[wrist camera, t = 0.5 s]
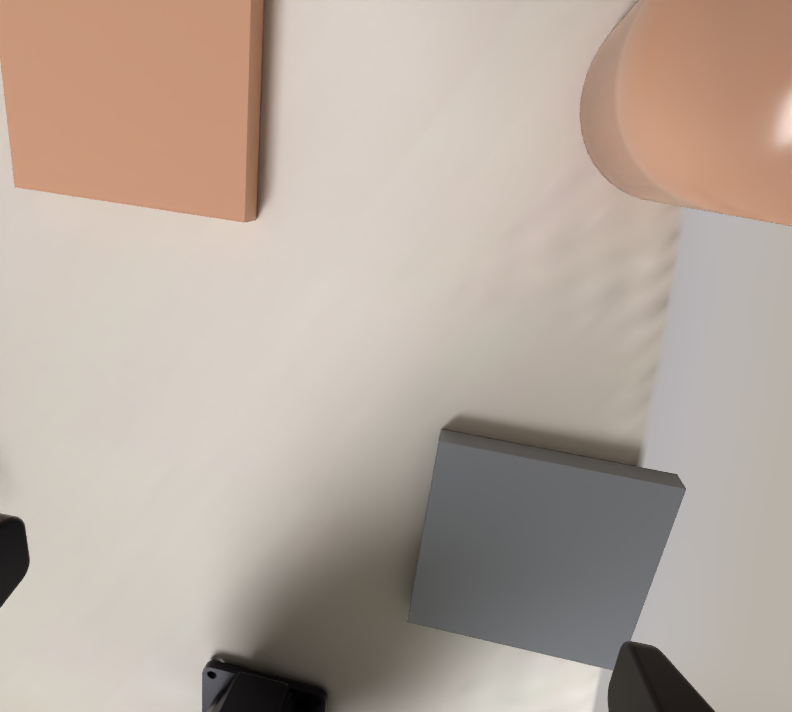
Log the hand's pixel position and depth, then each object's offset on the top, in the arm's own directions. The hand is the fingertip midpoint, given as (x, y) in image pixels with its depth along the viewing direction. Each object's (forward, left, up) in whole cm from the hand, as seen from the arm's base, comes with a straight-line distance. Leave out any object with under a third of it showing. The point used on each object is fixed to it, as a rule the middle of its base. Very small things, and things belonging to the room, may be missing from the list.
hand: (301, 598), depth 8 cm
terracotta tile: (+8, +11, -13) cm, 19 cm away
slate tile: (-8, -6, -13) cm, 17 cm away
